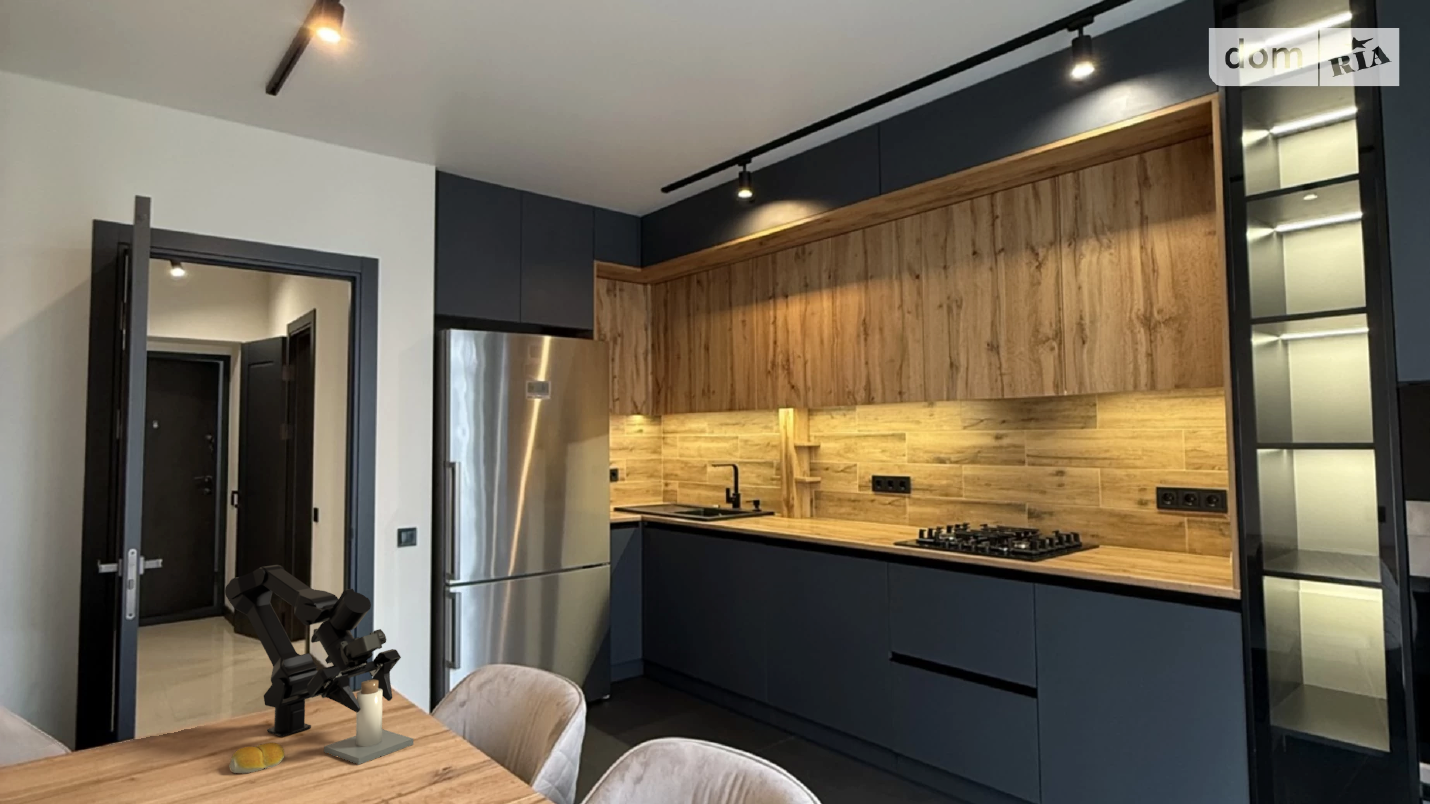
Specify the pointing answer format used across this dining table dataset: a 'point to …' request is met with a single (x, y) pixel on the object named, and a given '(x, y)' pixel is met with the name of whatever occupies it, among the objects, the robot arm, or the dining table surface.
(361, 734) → the lotion bottle
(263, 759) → the bread roll
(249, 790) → the dining table surface
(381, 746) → the plate
